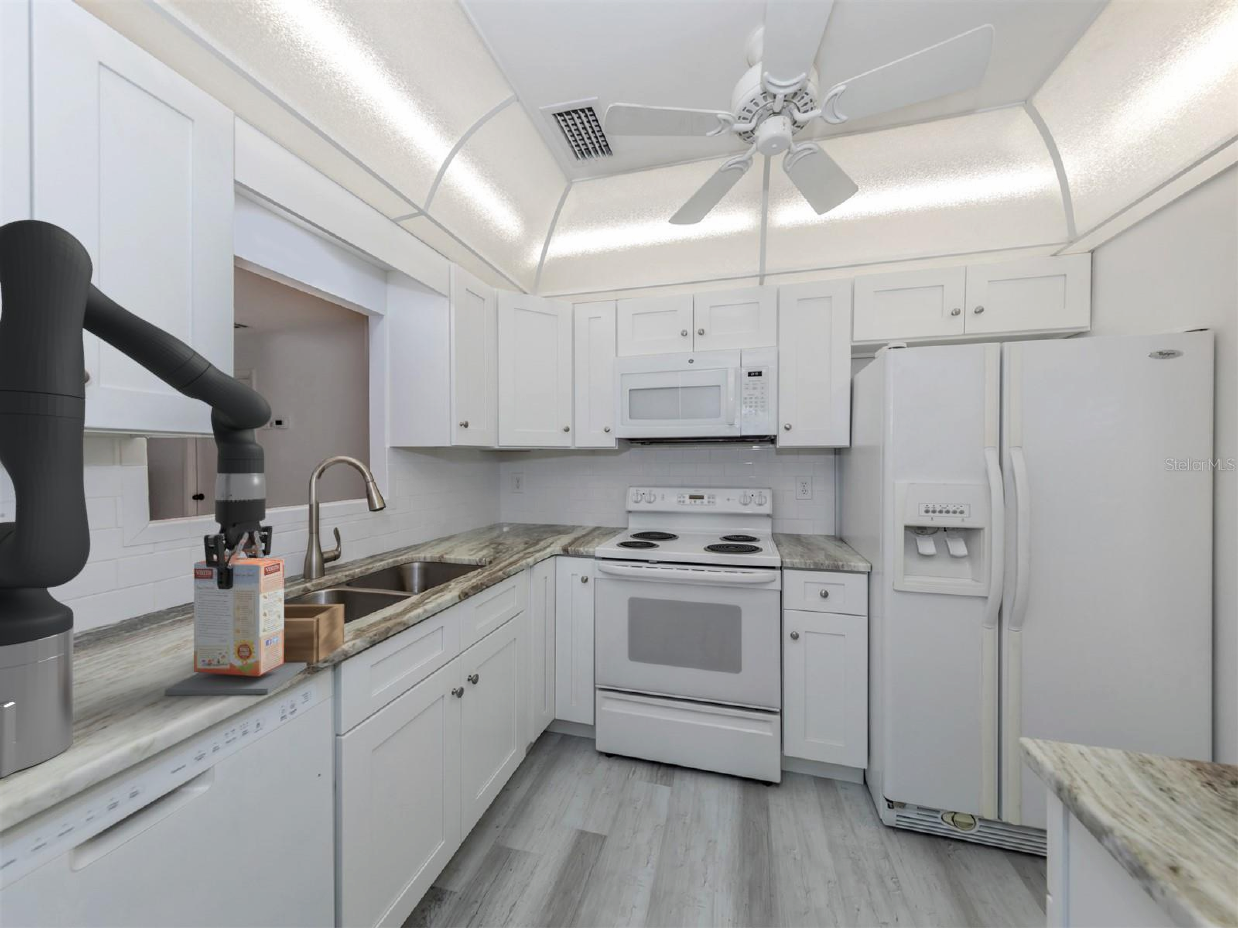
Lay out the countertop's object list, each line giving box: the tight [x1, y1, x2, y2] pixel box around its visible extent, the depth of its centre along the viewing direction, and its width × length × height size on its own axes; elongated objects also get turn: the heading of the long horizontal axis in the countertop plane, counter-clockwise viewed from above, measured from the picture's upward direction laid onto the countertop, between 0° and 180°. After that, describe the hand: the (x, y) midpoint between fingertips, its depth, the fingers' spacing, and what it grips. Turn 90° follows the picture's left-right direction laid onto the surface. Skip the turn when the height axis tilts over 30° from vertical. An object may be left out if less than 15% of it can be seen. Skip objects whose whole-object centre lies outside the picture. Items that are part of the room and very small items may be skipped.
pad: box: [164, 663, 308, 696], centre depth 89 cm, size 11×18×1 cm, turn 92°
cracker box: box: [193, 557, 285, 676], centre depth 89 cm, size 14×6×21 cm, turn 82°
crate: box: [284, 603, 345, 665], centre depth 102 cm, size 11×19×9 cm, turn 92°
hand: (240, 583), depth 89 cm, fingers closed on cracker box, 6 cm apart
